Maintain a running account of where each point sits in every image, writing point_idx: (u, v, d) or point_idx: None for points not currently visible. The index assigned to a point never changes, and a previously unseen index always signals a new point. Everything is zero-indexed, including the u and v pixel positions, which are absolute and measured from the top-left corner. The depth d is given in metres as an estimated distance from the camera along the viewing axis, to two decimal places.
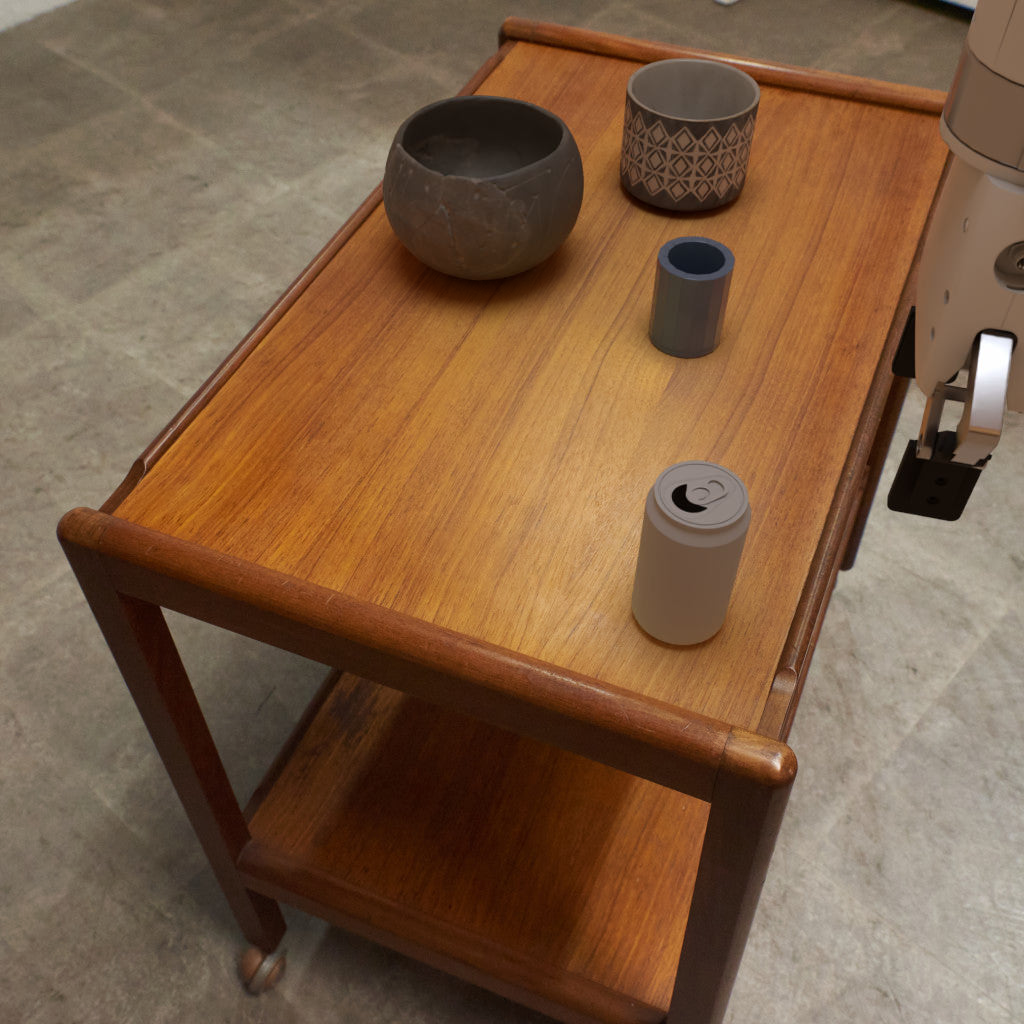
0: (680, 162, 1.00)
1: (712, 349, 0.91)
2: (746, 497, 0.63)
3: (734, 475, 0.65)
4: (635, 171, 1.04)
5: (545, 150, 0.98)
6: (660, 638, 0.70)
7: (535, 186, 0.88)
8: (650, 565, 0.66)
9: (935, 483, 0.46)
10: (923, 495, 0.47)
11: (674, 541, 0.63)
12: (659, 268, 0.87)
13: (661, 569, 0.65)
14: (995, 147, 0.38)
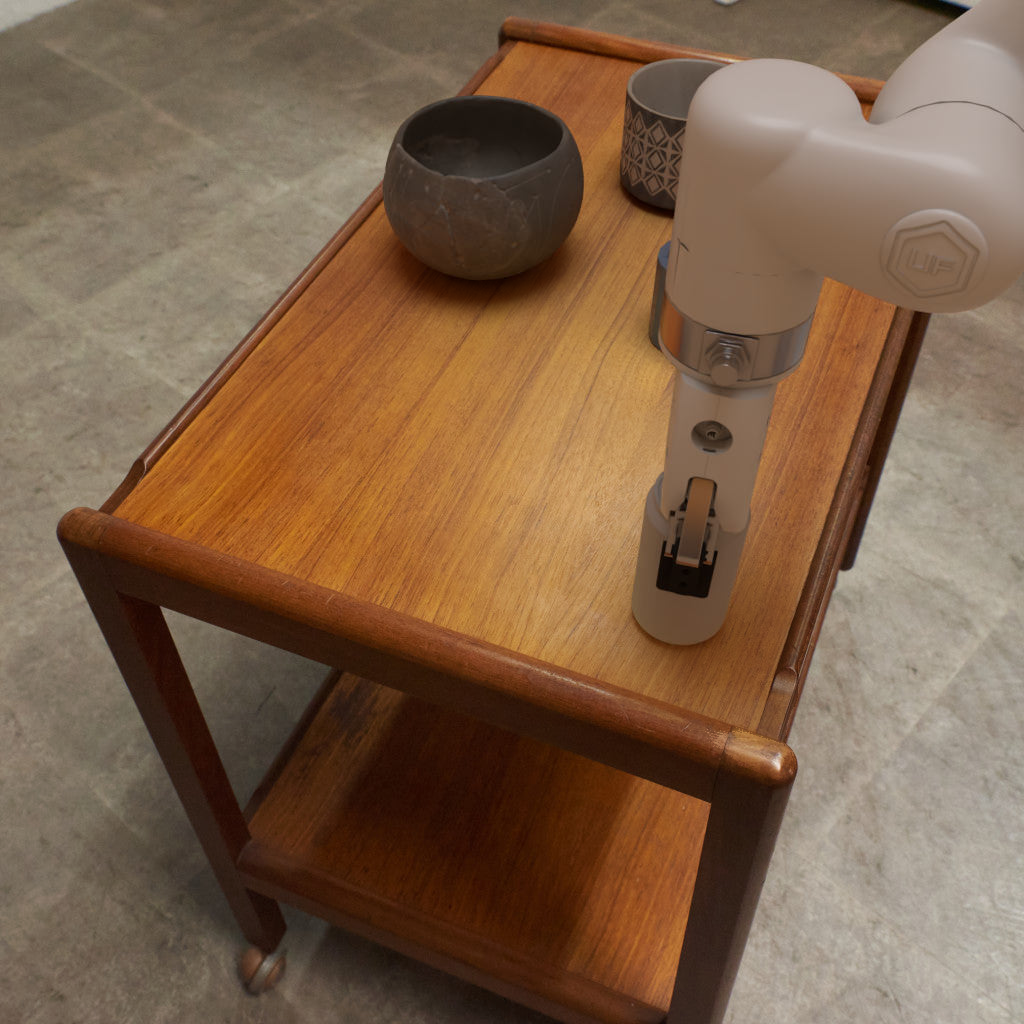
0: (680, 162, 1.00)
1: None
2: None
3: None
4: (635, 171, 1.04)
5: (545, 150, 0.98)
6: (660, 638, 0.70)
7: (535, 186, 0.88)
8: (649, 565, 0.66)
9: (682, 573, 0.62)
10: (675, 581, 0.63)
11: None
12: (659, 268, 0.87)
13: None
14: (683, 355, 0.53)
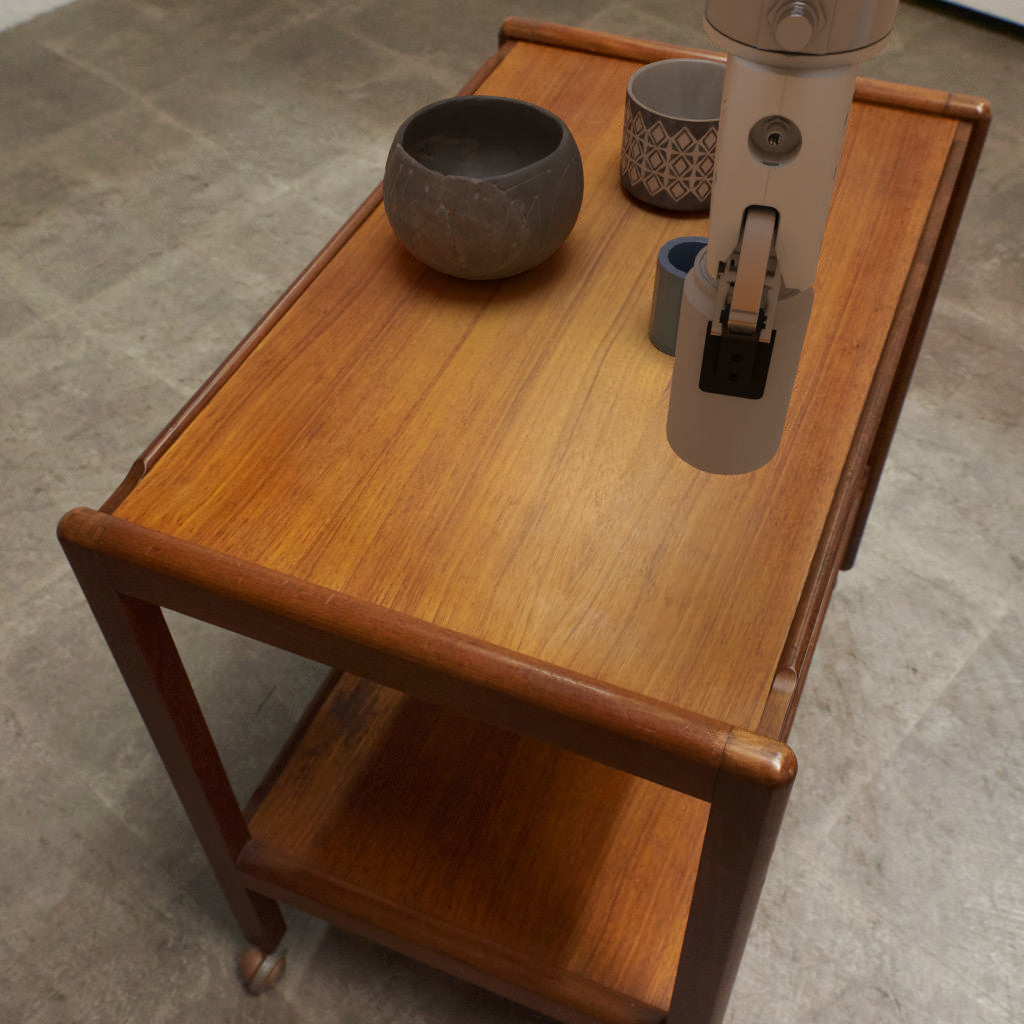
0: (680, 162, 1.00)
1: None
2: None
3: None
4: (635, 171, 1.04)
5: (545, 150, 0.98)
6: (702, 467, 0.58)
7: (535, 186, 0.88)
8: (689, 367, 0.54)
9: (732, 360, 0.50)
10: (724, 372, 0.51)
11: None
12: (659, 268, 0.87)
13: None
14: (737, 29, 0.41)
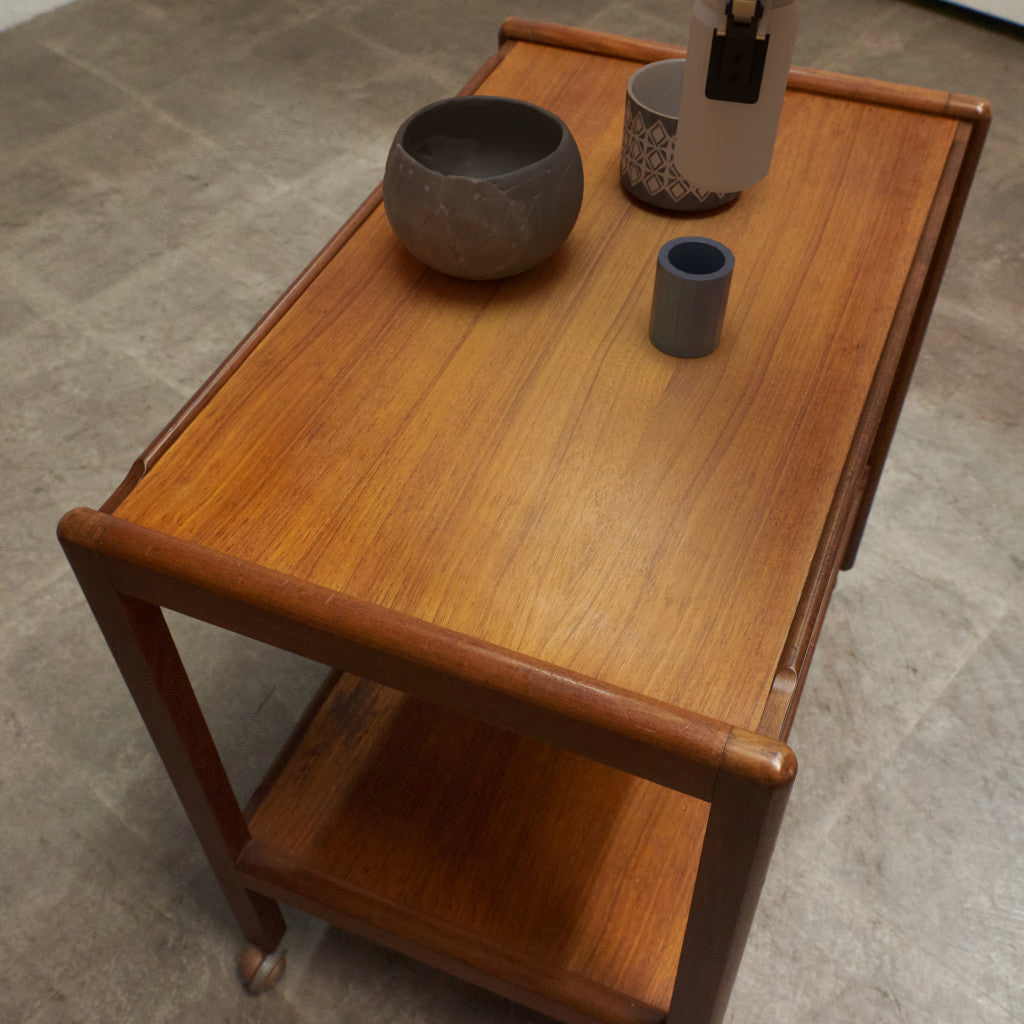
0: None
1: (712, 349, 0.91)
2: None
3: None
4: (635, 171, 1.04)
5: (545, 150, 0.98)
6: (704, 183, 0.69)
7: (535, 186, 0.88)
8: (696, 82, 0.65)
9: (734, 60, 0.61)
10: (726, 74, 0.62)
11: None
12: (659, 268, 0.87)
13: None
14: None
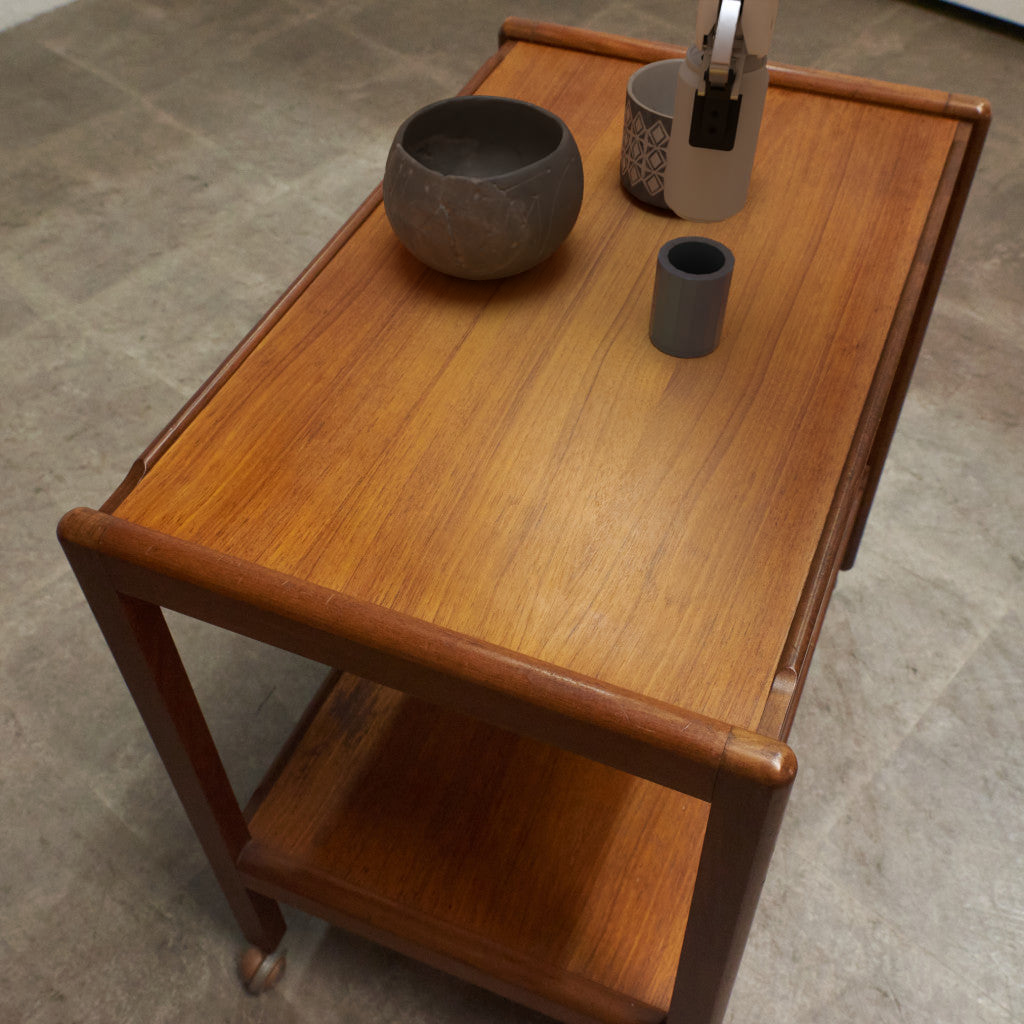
0: None
1: (712, 349, 0.91)
2: (765, 58, 0.74)
3: None
4: (635, 171, 1.04)
5: (545, 150, 0.98)
6: (689, 215, 0.81)
7: (535, 186, 0.88)
8: (682, 131, 0.77)
9: (712, 116, 0.73)
10: (706, 126, 0.74)
11: None
12: (659, 268, 0.87)
13: None
14: None
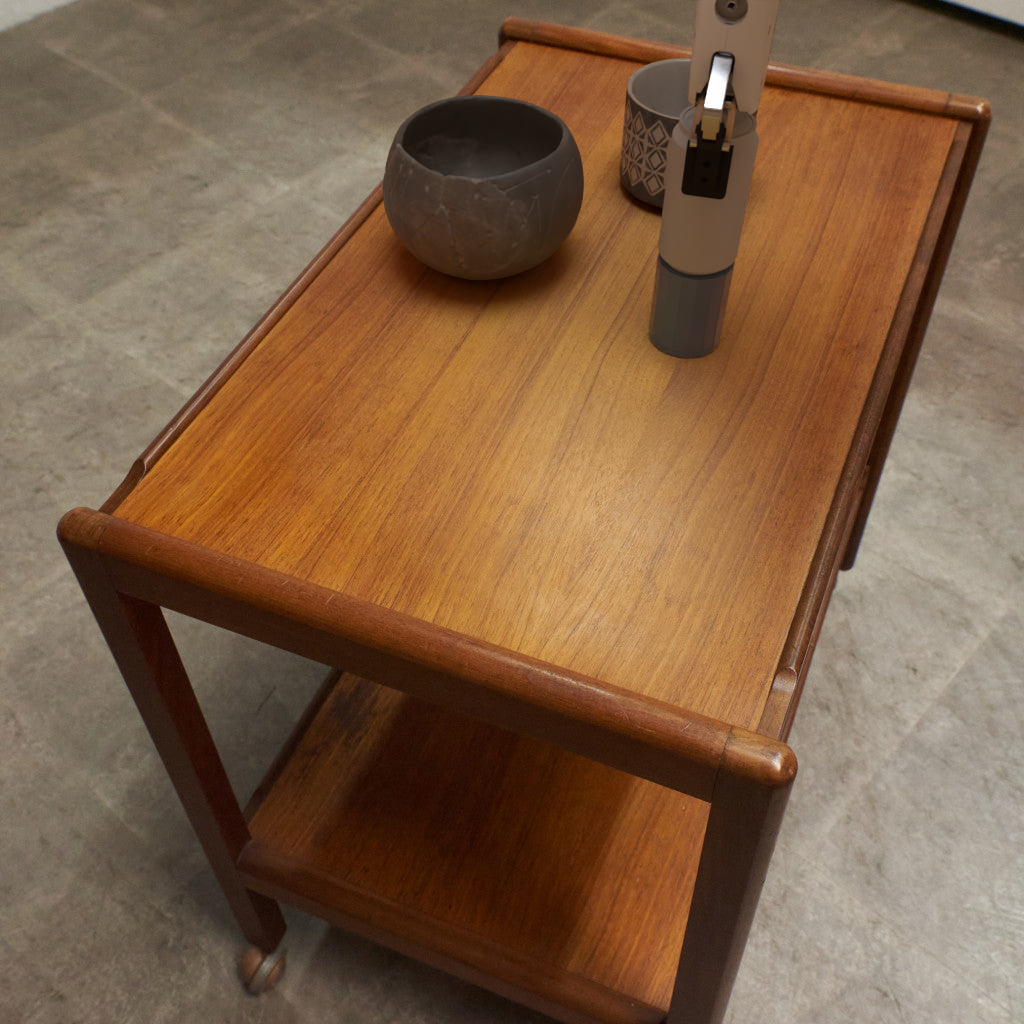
0: None
1: (712, 349, 0.91)
2: (755, 122, 0.78)
3: None
4: (635, 171, 1.04)
5: (545, 150, 0.98)
6: (682, 268, 0.84)
7: (535, 186, 0.88)
8: (675, 190, 0.80)
9: (704, 166, 0.74)
10: (698, 176, 0.75)
11: None
12: (659, 268, 0.87)
13: None
14: None
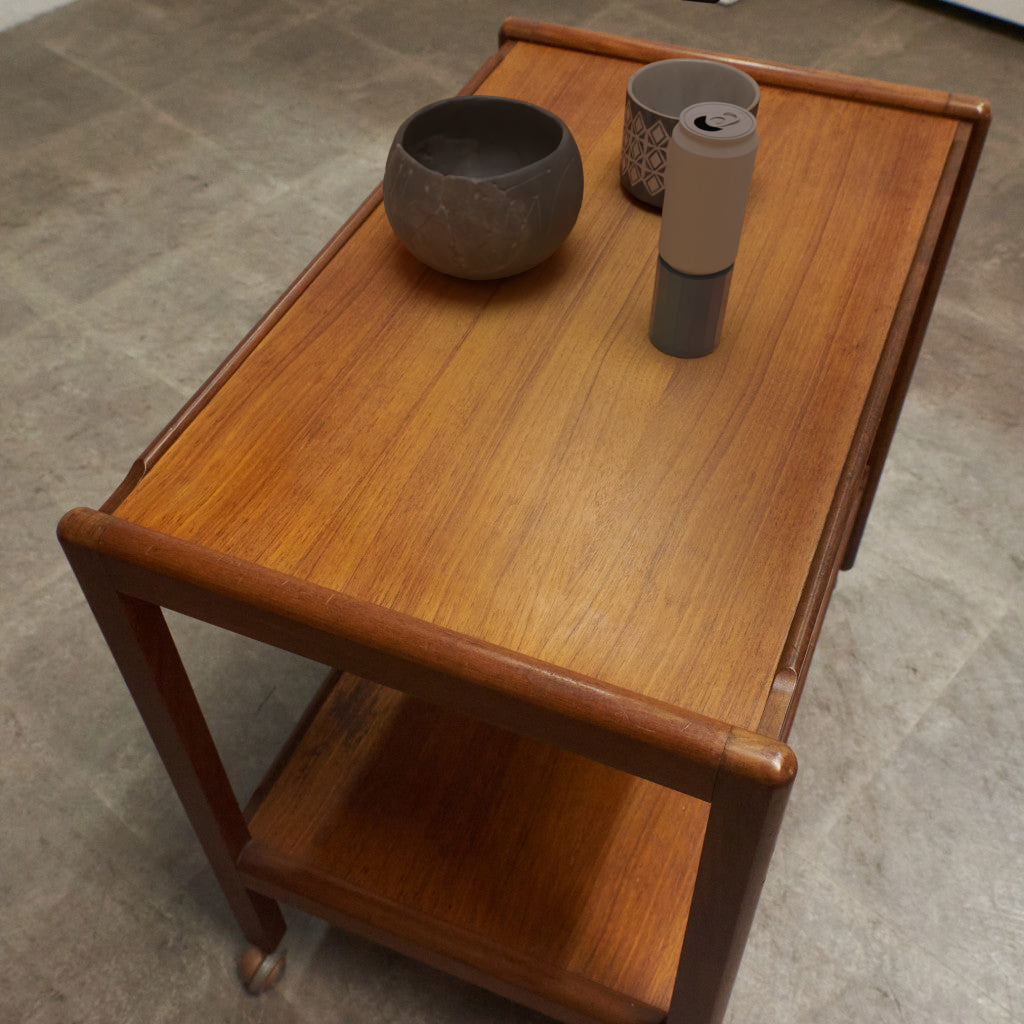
0: None
1: (712, 349, 0.91)
2: (755, 122, 0.78)
3: (745, 110, 0.79)
4: (635, 171, 1.04)
5: (545, 150, 0.98)
6: (682, 268, 0.84)
7: (535, 186, 0.88)
8: (675, 190, 0.80)
9: None
10: None
11: (696, 155, 0.77)
12: (659, 268, 0.87)
13: (685, 190, 0.79)
14: None
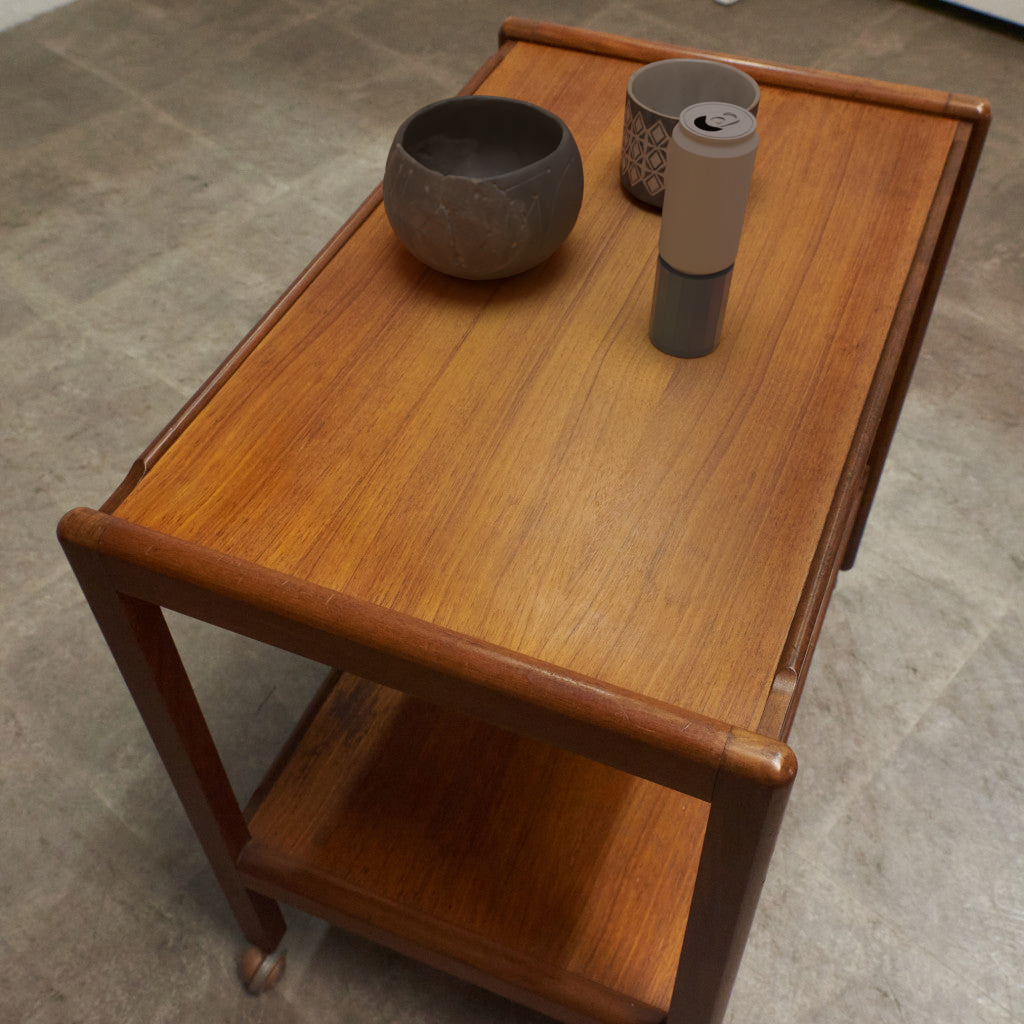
0: None
1: (712, 349, 0.91)
2: (755, 122, 0.78)
3: (745, 110, 0.79)
4: (635, 171, 1.04)
5: (545, 150, 0.98)
6: (682, 268, 0.84)
7: (535, 186, 0.88)
8: (675, 190, 0.80)
9: None
10: None
11: (696, 155, 0.77)
12: (659, 268, 0.87)
13: (685, 190, 0.79)
14: None
